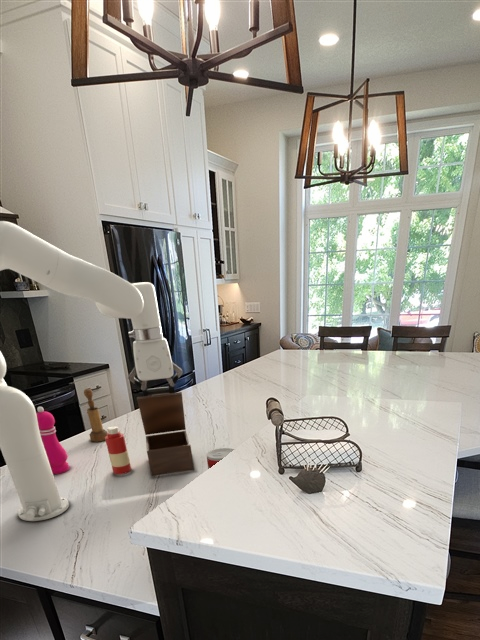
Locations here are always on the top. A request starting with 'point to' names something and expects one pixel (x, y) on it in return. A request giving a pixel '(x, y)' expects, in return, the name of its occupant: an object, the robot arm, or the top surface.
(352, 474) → the top surface
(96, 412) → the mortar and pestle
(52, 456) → the pepper mill
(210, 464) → the canned food
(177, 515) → the top surface
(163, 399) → the bread box lid
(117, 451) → the ketchup bottle
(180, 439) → the bread box
